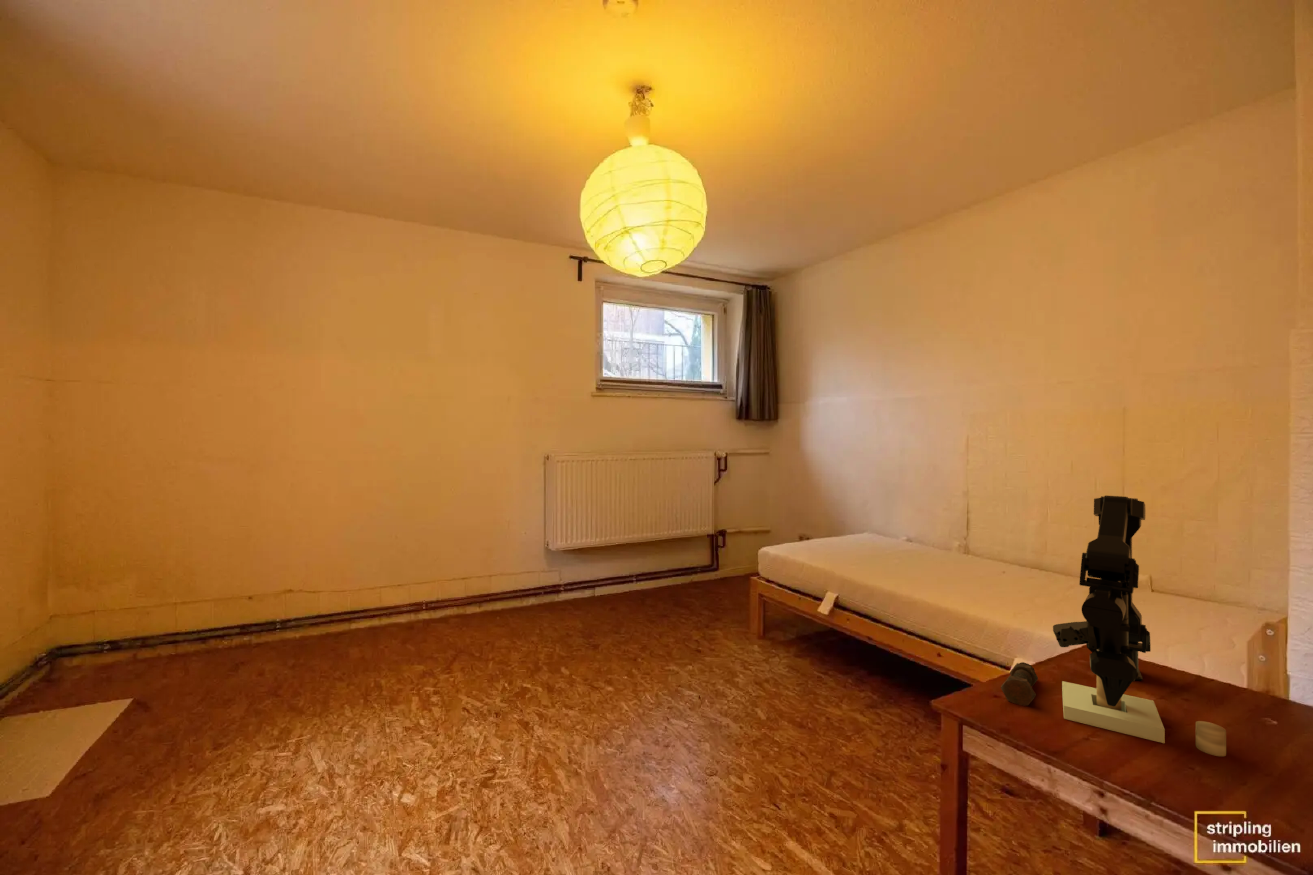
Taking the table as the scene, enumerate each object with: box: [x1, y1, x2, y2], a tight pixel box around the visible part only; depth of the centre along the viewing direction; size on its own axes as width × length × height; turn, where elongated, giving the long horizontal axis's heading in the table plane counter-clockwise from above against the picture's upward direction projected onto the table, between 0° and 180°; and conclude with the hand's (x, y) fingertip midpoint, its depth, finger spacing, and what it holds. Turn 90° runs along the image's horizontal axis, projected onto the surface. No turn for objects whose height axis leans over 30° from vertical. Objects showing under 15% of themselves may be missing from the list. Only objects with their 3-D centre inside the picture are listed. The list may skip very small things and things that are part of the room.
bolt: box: [1000, 661, 1039, 707], centre depth 112 cm, size 6×5×15 cm
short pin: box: [1195, 720, 1227, 757], centre depth 90 cm, size 4×4×4 cm
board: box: [1061, 680, 1166, 744], centre depth 101 cm, size 12×14×2 cm
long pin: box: [1096, 675, 1121, 711], centre depth 101 cm, size 4×4×8 cm
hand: (1108, 695), depth 101 cm, fingers open, 9 cm apart
